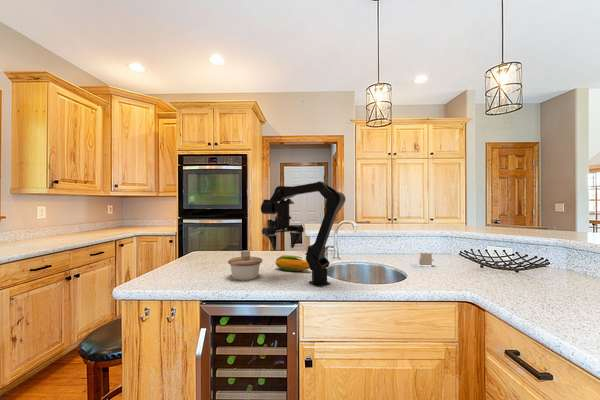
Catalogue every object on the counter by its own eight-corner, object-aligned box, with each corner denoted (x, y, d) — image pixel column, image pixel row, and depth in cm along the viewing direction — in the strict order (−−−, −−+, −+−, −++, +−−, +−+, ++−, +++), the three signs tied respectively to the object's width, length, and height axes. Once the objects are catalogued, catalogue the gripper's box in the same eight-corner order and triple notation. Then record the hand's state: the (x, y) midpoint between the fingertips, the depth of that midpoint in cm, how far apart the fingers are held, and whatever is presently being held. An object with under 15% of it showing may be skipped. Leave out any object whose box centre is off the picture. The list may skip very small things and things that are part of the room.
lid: (267, 263, 119) (267, 252, 119) (235, 267, 110) (235, 255, 110) (254, 256, 131) (254, 247, 131) (223, 260, 123) (223, 250, 123)
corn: (279, 252, 139) (315, 255, 132) (279, 266, 140) (316, 270, 132) (272, 255, 132) (310, 259, 125) (273, 271, 133) (310, 275, 125)
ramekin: (263, 273, 127) (263, 258, 127) (255, 282, 114) (256, 265, 114) (235, 272, 128) (235, 258, 128) (225, 281, 115) (225, 264, 115)
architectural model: (418, 265, 145) (418, 251, 145) (432, 266, 144) (432, 252, 144) (420, 267, 142) (420, 253, 142) (434, 267, 140) (434, 253, 140)
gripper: (291, 213, 132) (291, 245, 131) (256, 214, 121) (256, 249, 121) (304, 213, 122) (304, 248, 122) (267, 215, 112) (268, 252, 112)
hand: (283, 249), depth 119 cm, fingers open, 9 cm apart
